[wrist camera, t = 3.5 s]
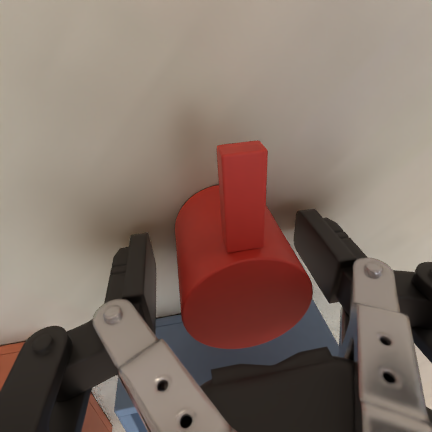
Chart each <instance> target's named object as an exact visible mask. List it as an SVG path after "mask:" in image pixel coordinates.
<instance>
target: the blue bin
mask: <svg viewBox="0 0 432 432" xmlns="http://www.w3.org/2000/svg"><path fill="white" fill-rule="evenodd" d="M155 336H156V337H157V338H158V339H160V338H162V339H163V340H164V341H165V342H166V343H167V344H168V346H169V347H170V348H171V350H172V351H173V352H174V354H175V355H176V356H177V358H178V359H179V360H180V361H181V363H182V364H183V365H184V367H185V368H186V369H187V371H188V372H189V373H190V375H191V376H192V377H193V378H194V380H195V381H196V382H197V384H198V385H199V386H201V385H202V384H204V383H205V382H207V381H209V380H211V379H212V375H211V369H216V368H221V367H226V366H231V365H236V364H254V365H275V364H277V363H279V362H281V361H283V360H285V359H287V358H289V357H291V356H292V355H294V354H296V353H298V352H301V351H306V350H312V349H317V348H322V347H328V349H329V351H330V353H331V355H332V356H338V354H339V345H338V344H337V342H336V340H335V338H334V337H333V335H332V333H331V331H330V329H329V328H328V326H327V324H326V322H325V320H324V319H323V317H322V315H321V313H320V312H319V310H318V308H317V306H316V304H315V303H314V301H313V300H311V304H310V306H309V308H308V310H307V312H306V313H305V315H304V316H303V317H302V319H301V320H300V321H299V322H298V323H297V324H296V325H295V326H294V327H292V328H291V329H290V330H288V331H287V332H286V333H284V334H282V335H281V336H279V337H277V338H275V339H273V340H271V341H268V342H266V343H263V344H260V345H257V346H252V347H248V348H241V349H221V348H215V347H211V346H208V345H205V344H203V343H200V342H199V341H197V340H195V339H194V338H193V337H192V336H191V335H190V334H189V333H188V332H187V330H186V329H185V327H184V325H183V322H182V317H181V314H180V315H175V316H169V317H163V318H158V319H156V335H155ZM114 412H115V413H116V415H117V416H118V418H119V420H120V422H121V424H122V425H123V427H124V429H125V431H126V432H148V431H147V430H146V428H145V426H144V424H143V422H142V420H141V418H140V416H139V414H138V412H137V410H136V409H135V407H134V405H133V403H132V401H131V399H130V397H129V396H128V394H127V392H126V390H125V388H124V386H123V385H122V383H121V381H120V379H119V377H118V383H117V391H116V400H115V408H114Z"/></svg>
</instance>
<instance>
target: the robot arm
mask: <svg viewBox="0 0 432 432" xmlns="http://www.w3.org/2000/svg"><path fill="white" fill-rule="evenodd" d="M294 245H295V248H296V250H297V252H298V253H299V255H300V257H301V258H302V260H303V262H304V263H305V265H306V266H307V268H308V270H309V271H310V273H311V275H312V276H313V278H314V279H315V281H316V283H317V284H318V286H319V288H320V289H321V291H322V292H323V294H324V296H325V297H326V299H327V301H328V302H329V303H335V302H340V304H341V305H342V308H341V312H340V339H339V354H338V356H332V355H331V353H330V351H329V349H328V347H322V348H317V349H312V350H306V351H301V352H298V353H296V354H294V355H292V356H291V357H289V358H287V359H285V360H283V361H281V362H279V363H277V364H275V365H254V364H236V365H231V366H226V367H221V368H216V369H211V375H212V379H211V380H209V381H207V382H205V383H204V384H202V385H201V386H199V385H198V384H197V382H196V381H195V380H194V378H193V377H192V376H191V375H190V373H189V372H188V371H187V369H186V368H185V367H184V365H183V364H182V363H181V361H180V360H179V359H178V358H177V356H176V355H175V354H174V352H173V351H172V350H171V348H170V347H169V346H168V344H167V343H166V342H165V341H164V340H163V339H162V338H160V339H158V338H157V337H156V336H155V335H156V263H155V258H154V253H153V249H152V245H151V241H150V237H149V234H148V233H142V234H135V235H131V237H130V243H129V247H125V248H120V249H119V250H118V252H117V253H116V254H115V256H114V258H113V263H112V268H111V273H110V274H111V275H110V278H109V283H108V288H107V293H106V298H105V303H104V304H103V305H102V306H101V307H100V308H99V309H98V310H97V311H96V312H95V314H94V316H93V319H92V320H91V321H89V322H87V323H85V324H83V325H81V326H79V327H77V328H74V329H72V330H70V331H67V332H66V330H65V329H64V328H62V327H59V326H50V327H46V328H43V329H41V330H39V331H37V332H36V333H34V334H33V335H32V336H31V337H29V338H28V339H27V341H26V342H25V343H24V344H23V346H22V348H21V350H20V352H19V354H18V356H17V358H16V360H15V362H14V364H13V366H12V368H11V370H10V372H9V374H8V376H7V378H6V380H5V382H4V384H3V386H2V388H1V391H0V432H81V431H82V427H83V423H84V419H85V415H86V410H87V406H88V402H89V398H90V394H91V390H92V387H94V386H96V385H98V384H100V383H102V382H104V381H106V380H107V379H109V378H111V377H113V376H115V375H118V377H119V379H120V381H121V383H122V385H123V386H124V388H125V390H126V392H127V394H128V396H129V397H130V399H131V401H132V403H133V405H134V407H135V409H136V410H137V412H138V414H139V416H140V418H141V420H142V422H143V424H144V426H145V428H146V430H147V431H148V432H432V410H431V409H429V408H428V407H426V405H425V399H424V394H423V389H422V383H421V378H420V373H419V368H418V362H417V357H416V352H415V346H414V343H415V345H416V346H417V347H418V348H419V349H420V350H421V351H422V353H423V354H424V355H425V356H426V357H427V358H428V359H429V361H430V362H431V363H432V262H424V263H421V264H419V265H418V266H417V268H416V270H415V272H407V271H395V270H392V269H391V267H390V266H388V265H387V264H386V263H384V262H382V261H380V260H378V259H374V258H368V257H367V256H366V255H365V254H364V253H363V252H362V251H361V250H360V248H359V247H358V246H357V245H356V244H355V243H354V242H353V241H352V240H351V238H349V237H348V235H347V234H346V233H345V232H343V230H342V229H341V227H340V226H339V225H338V224H337V223H335V222H334V221H332V220H330V219H328V218H322V216H321V215H320V214H319V213H318V212H317V211H316V210H315V209H308V210H301V211H298V212H297V214H296V221H295V230H294Z"/></svg>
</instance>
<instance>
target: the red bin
mask: <svg viewBox="0 0 432 432" xmlns="http://www.w3.org/2000/svg"><path fill="white" fill-rule="evenodd" d="M24 343H25V342H21V343H16V344H10V345H4V346H0V391H1V388H2V386H3V384H4V382H5V380H6V378H7V376H8V374H9V372H10V370H11V368H12V366H13V364H14V362H15V360H16V358H17V356H18V354H19V352H20V350H21V348H22V346H23V344H24ZM81 432H112V425H111V424H110V422H109V421H108V419H107V417H106V416H105V414H104V413H103V411H102V409H101V408H100V406H99V405H98V403H97V402H96V400H95V398H94V397H93V395H92V394H90V398H89V402H88V406H87V410H86V415H85V419H84V423H83V427H82V431H81Z"/></svg>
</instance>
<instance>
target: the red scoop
mask: <svg viewBox="0 0 432 432" xmlns="http://www.w3.org/2000/svg"><path fill="white" fill-rule="evenodd" d="M267 155H268V151H267V149H266V148H265V147H264V146H263V144H262V143H261V142H260V141H258V140H257V141H249V142H240V143H232V144H224V145H218V146H217V162H218V178H219V185H216V186H212V187H209V188H206V189H204V190H201V191H200V192H198V193H196V194H195V195H193V196H192V197H191V198H190V199H189V200H188V201H187V202H186V203H185V204H184V205H183V207H182V208H181V210H180V211H179V213H178V216H177V218H176V222H175V237H176V251H177V264H178V277H179V291H180V304H181V317H182V322H183V325H184V327H185V329H186V330H187V332H188V333H189V334H190V335H191V336H192V337H193V338H194V339H195V340H197V341H199V342H200V343H203V344H205V345H208V346H211V347H215V348H221V349H241V348H248V347H252V346H257V345H260V344H263V343H266V342H268V341H271V340H273V339H275V338H277V337H279V336H281V335H282V334H284V333H286V332H287V331H288V330H290V329H291V328H292V327H294V326H295V325H296V324H297V323H298V322H299V321H300V320H301V319H302V317H303V316H304V315H305V313H306V312H307V310H308V308H309V306H310V304H311V300H312V294H313V290H312V283H311V280H310V278H309V276H308V275H307V273H306V271H305V270H304V268H303V266H302V265H301V263H300V261H299V260H298V258H297V256H296V255H295V253H294V251H293V249H292V248H291V246H290V244H289V243H288V241H287V239H286V238H285V236H284V234H283V233H282V231H281V229H280V228H279V226H278V224H277V223H276V221H275V219H274V218H273V216H272V214H271V213H270V211H269V209H268V208H267V206H266V181H267Z"/></svg>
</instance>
